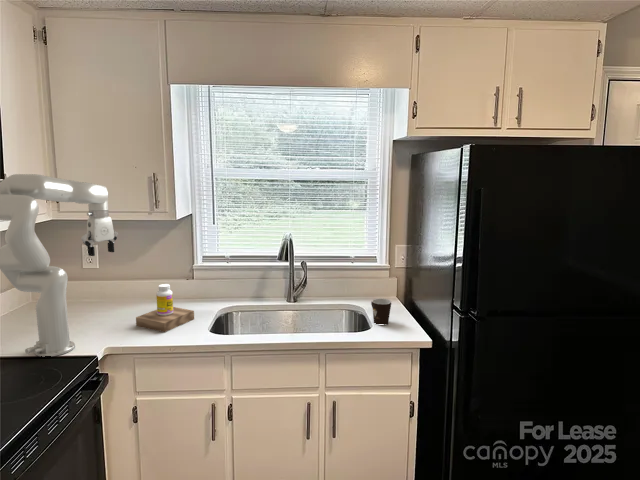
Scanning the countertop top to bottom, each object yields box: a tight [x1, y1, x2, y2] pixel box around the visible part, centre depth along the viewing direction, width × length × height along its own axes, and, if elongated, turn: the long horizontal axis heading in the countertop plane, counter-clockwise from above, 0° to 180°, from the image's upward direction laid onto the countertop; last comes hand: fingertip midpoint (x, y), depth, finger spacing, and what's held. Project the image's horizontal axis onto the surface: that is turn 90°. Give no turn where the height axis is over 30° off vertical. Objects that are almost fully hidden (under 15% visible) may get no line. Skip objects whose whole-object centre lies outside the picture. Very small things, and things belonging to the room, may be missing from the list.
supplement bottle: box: [155, 283, 174, 316], centre depth 186 cm, size 7×7×13 cm
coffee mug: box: [370, 297, 392, 325], centre depth 191 cm, size 12×9×10 cm
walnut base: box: [135, 306, 195, 333], centre depth 187 cm, size 18×16×4 cm
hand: (101, 253), depth 184 cm, fingers open, 9 cm apart
